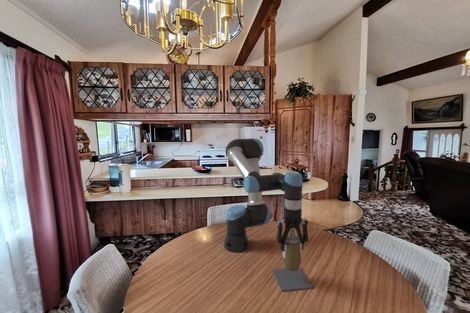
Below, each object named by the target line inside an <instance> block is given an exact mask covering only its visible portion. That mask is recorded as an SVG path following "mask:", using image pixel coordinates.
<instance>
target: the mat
mask: <svg viewBox="0 0 470 313" xmlns="http://www.w3.org/2000/svg"><path fill="white" fill-rule="evenodd" d="M271 271H272V273H273V275H274V277H275V279H276V282H277V283H278V285H279V288H280V290H281V292H291V291H301V290H308V289H314V285H313V284H312V283H311V281H310V279H308V277H307V276H306V274H305V273H304V272H303V270H302V269H301V267H300V266H299V269H298V270H297V271H289V270H287V269H286V267H284V268H276V269H275V268H274V269H273V268H272V270H271Z"/></svg>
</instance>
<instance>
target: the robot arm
mask: <svg viewBox="0 0 470 313" xmlns="http://www.w3.org/2000/svg"><path fill="white" fill-rule="evenodd" d="M264 150H265V149H264V145H263V142H262V141H261V140H260V139H258V138H253V137H252V138H235V139H233V140H230V142H229V143H228V144H227V145H226V148H225V156H226V158H227V159H228V161H230V162H232V163H233V165H234V166H235V168H236V169H237V171H238V172H239V173H240V175H241V177H242V178H243V189H244V191H245V193H247V195H248V201H247V203H246V206H244V205H241V204H240V205H238V204H236V205H233V206H230V207H229V208H228V209H226V213H225V214H226V216H225V218H226V234H225V237H224V240H223V247H224V249H225V250H226V251H229V252H232V253H241V252H244V251H247V249H249V247H250V241H249V238H248V237H249V236H248V235H247V228H252V227H261V226H264V225H267V224H268V223H269V222H270V219H271V210H270V207H269V206H268V204H266V201H264V200H263V192H271V191H282V192H283V193H284V196H283V197H284V199H283V201H284V203H283V206H284V208H283V219H282V220H277V236H276V242H277V243H278V244H279V245H280V250H281V252H282V258H283V257H284V259H286V251H287V245H286V244H285V242H286V241H287V237H288V236H289V235H290V234H289V233H290V232H291V230H293V229H295V230H296V233H297V238H298V242H299V244H300V253H301V258H302V256H303V254H302V253H303V250H304V245H305V243H307V242H308V241H309V239H308V237H309V235H308V225H309V224H308V223H309V220H308V219H306V218H302V216H303V214H302V211H303V210H302V208H303V184H304V183H303V175H302V173H300V172H295V171H293V172H285V174H284V173H281V172H273V173H271V174H262V175H261V172H260V161H261V157H262V156H263V155H264ZM284 224H285V226H284ZM300 225H301V226H302V229H301V226H300ZM283 228H284V229H283Z"/></svg>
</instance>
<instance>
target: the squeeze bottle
mask: <svg viewBox="0 0 470 313" xmlns="http://www.w3.org/2000/svg"><path fill="white" fill-rule="evenodd" d="M289 233H290V234H289V235H288V237H287V239H286V242H285V244H286V245H287V251H286V259H284V257H283V256H282V261H283V264H284V268H286V269H287V270H289V271H297V270H298V269H299V267H300V266H301V263H302V257H301V253H300V244H299V242H298V241H299V237H298V236H296V234H295V230H294V229H291V230H290V232H289Z"/></svg>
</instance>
